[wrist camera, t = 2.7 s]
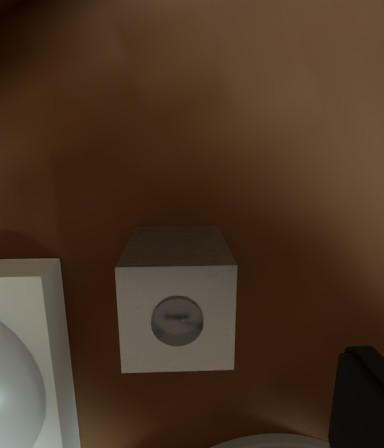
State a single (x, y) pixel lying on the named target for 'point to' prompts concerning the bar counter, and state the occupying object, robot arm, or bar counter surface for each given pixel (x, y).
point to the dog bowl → (274, 441)
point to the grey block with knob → (176, 300)
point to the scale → (35, 358)
